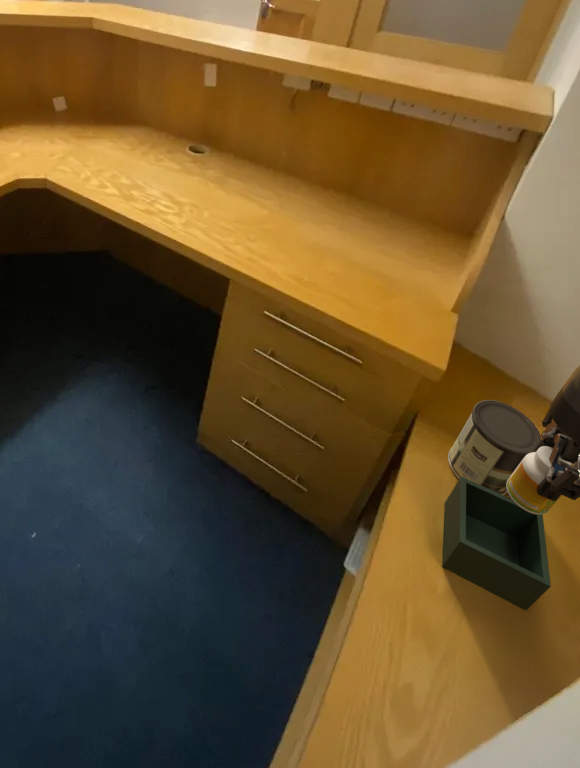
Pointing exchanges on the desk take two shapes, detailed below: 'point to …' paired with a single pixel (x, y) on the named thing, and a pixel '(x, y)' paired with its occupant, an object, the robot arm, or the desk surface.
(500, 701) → the desk surface
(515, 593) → the bin
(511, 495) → the supplement bottle
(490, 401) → the coffee can
